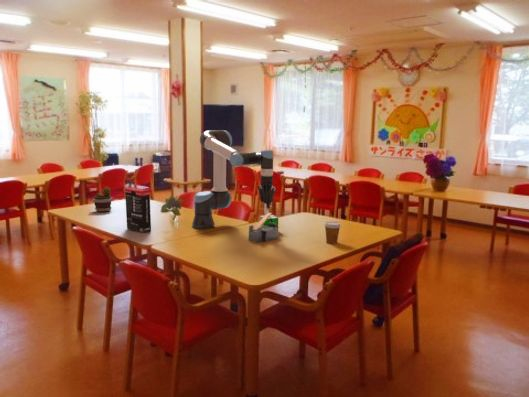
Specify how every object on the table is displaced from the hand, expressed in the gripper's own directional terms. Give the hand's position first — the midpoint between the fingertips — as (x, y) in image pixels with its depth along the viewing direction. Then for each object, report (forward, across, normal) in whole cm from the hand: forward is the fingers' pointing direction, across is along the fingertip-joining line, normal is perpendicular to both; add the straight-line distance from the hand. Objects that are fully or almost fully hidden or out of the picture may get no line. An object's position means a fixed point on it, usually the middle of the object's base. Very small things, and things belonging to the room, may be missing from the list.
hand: (266, 213), depth 279 cm
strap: (+5, 0, -4) cm, 6 cm away
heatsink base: (+15, 0, -2) cm, 16 cm away
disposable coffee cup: (+16, +37, +17) cm, 43 cm away
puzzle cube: (+16, -8, +13) cm, 22 cm away
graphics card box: (+15, -74, -40) cm, 86 cm away
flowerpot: (+15, -144, -21) cm, 146 cm away
